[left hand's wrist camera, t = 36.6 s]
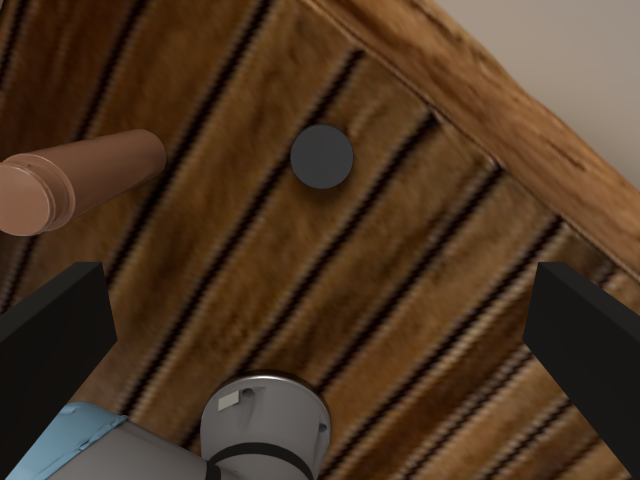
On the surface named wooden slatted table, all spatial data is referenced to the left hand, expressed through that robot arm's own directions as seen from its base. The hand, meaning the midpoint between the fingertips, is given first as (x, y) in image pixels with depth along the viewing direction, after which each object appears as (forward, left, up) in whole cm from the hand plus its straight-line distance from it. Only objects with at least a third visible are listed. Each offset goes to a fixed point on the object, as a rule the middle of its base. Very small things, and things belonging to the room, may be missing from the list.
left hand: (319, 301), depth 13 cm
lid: (0, 0, -26) cm, 26 cm away
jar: (-8, +14, -28) cm, 32 cm away
